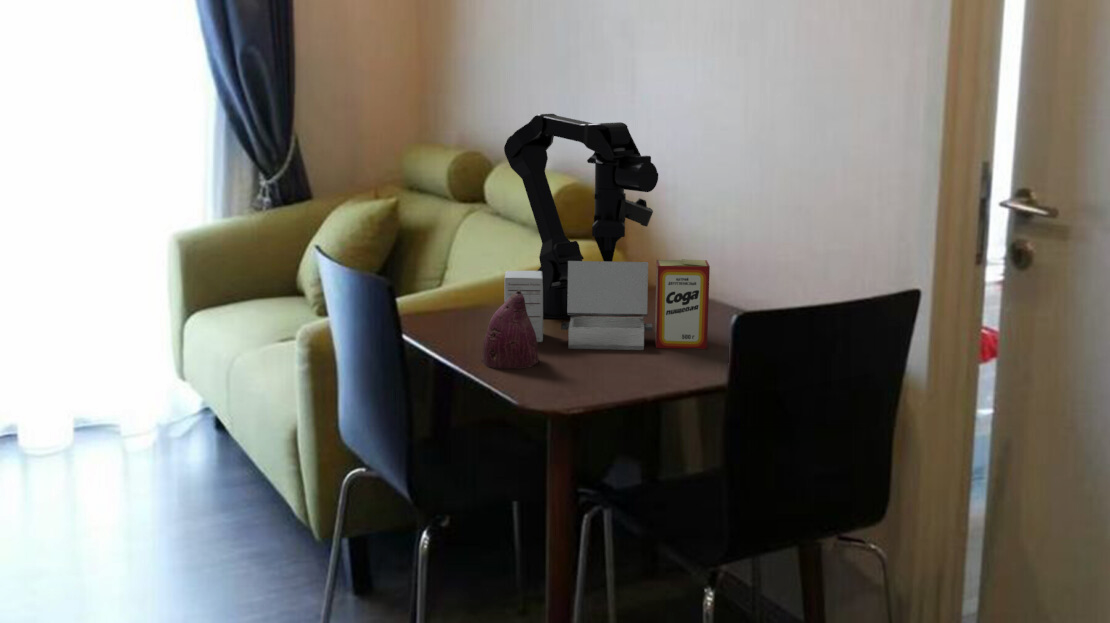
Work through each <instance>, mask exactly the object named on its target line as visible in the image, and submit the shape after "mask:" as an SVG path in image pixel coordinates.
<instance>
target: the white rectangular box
mask: <svg viewBox="0 0 1110 623" xmlns="http://www.w3.org/2000/svg"><path fill="white" fill-rule="evenodd" d="M644 318H645V317H641V316H584V315H571V318H569V319H570V320H569V321H562V322H561V323H560V324H561V325H560V330H562V331H568V347H567V348H568V349H569V350H570V349H573V350H614V351H615V350H622V351H623V350H624V351H627V350H628V351H629V350H630V351H644V348H645V332H653V323H645V321H644Z"/></svg>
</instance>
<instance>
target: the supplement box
mask: <svg viewBox="0 0 1110 623" xmlns="http://www.w3.org/2000/svg"><path fill="white" fill-rule="evenodd" d="M518 290H520V291H521V293H522V294H523V296H524V299H525V306H526V311H527V314H528V317H529V319H530V321H531V324H532V326H533V328H534V331H535V334H536V339H537V343H543V341H544V318H543V278H542V271H537V270H506V271H505V272H504V303H505V302H506V301H507V300H508V299H509V298H510V297H511V296H512V295H513V294H514V293H516V292H517V291H518Z"/></svg>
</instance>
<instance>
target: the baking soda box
mask: <svg viewBox="0 0 1110 623" xmlns="http://www.w3.org/2000/svg"><path fill="white" fill-rule="evenodd" d="M655 263H656V269H655V270H656V272H655V279H656V280H655V308H654V309H655V315H654V343H655V348H656V349H687V350H688V349H690V348H699V349H700V350H701V349H702V350H705V349H706V350H707V349H708V334H709V333H708V329H709V328H708V327H709V303H710V302H709V301H710V300H709V299H710V297H709V295H710V274H711V273H710V270H711V268H710V264H709V262H708V261H707V260H704V259H656V262H655ZM699 349H698V350H699Z"/></svg>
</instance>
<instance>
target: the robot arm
mask: <svg viewBox="0 0 1110 623" xmlns="http://www.w3.org/2000/svg"><path fill="white" fill-rule="evenodd" d="M555 137H557V138H560V139H561V138H562V139H566V140H570V141H574V142H579V143H581V144H583V145H584V146H585V147H586V148H587V149H589V150H591V151H592V152H593V154H591V156H590V157H588V159H587V160H586V162H587V163H588V164H595V165H594V214H593V215H594V216H593V224H592V233H591V237H593V238H594V240H595V243H596V245H597V246H598V247H597V248H598V251H599V252H600V255H601V258H602V260H603V261H606V262H613V259H614V254H615V249H616V245H617V242H618V241H619V240H621V238H624V237H625V236H626V222H625V221H626V219H627V220H630V221H633V222H635V223H637V224H639V225H640V226H643V227H646V228H647V227H648V226H649V223H650V222H651V218H652V215H653V214H654V210H653V208H651V207H648V206H647V200H645V199H644V198H640V197H639V198H638V199H636V201H635V202H634V201H633V200H628V199H626V198H627V197H626V196H627V195H626V193H625V191H626V190H627V191H635V192H640V193H641V192H642V193H650V192H653V190H654V189H655V188H656V187H657V184H658V182H659V172H658V169H657V167H656V165H655V163H652V157H651V155H641V152H640V151H639V148H638V146H637V145H636V143H635V140H634V139H633V137H632V135H631V133H630V130H629V128H628V125H627V124H626V123H624V122H620V121H619V122H617V121H616V122H601V123H600V122H599V123H593V122H588V121H585V120H580V119H573V118H570V117H566V116H560V115H557V114H555V113H540V114H539V113H538V114H536V115H534V116H533V117H532V119H530V121H529V122H528V123H525V125H523V126H522V127H520V128H519V129H517V130H516V131H515V132H513V134H512V135H510V136H509V137H507V140H506V142H505V144H504V148H503V150H504V152H503V153H504V154H505V158H506V160H507V162H508V164H509V166H510V168H511V169H512V171H513V172H514V173H515V174H517V175H518V176H519V178H521V180H522V182H523V187H524V189H525V191H526V195H527V199H528V203H529V205H530V208H531V211H532V214H533V218H534V221H535V224H536V227H537V231H538V234H539V238H540V240H541V248H540V251H539V252H540V253H539V256H538V258H539V263H540V267H538V269H537V270H536V271H542V278H543V319H571V316H572V315H567V298H568V261H583V260H585V258H584V256H583V255H582V252H581V248H580V243H579V242H578V241H577V240H573V241H571V240H570V239H569V238H568V237H567V236H566V234H565V231H564V228H563V224H562V222H561V218H560V215H559V212H558V209H557V206H556V203H555V200H554V197H553V194H552V191H551V187H550V184H549V180H548V177H547V175H546V167H547V162H548V159H549V158H548V157H549V156H548V152H547V150H548V149H549V148H550V147H551V146H552V144H554V138H555Z"/></svg>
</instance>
